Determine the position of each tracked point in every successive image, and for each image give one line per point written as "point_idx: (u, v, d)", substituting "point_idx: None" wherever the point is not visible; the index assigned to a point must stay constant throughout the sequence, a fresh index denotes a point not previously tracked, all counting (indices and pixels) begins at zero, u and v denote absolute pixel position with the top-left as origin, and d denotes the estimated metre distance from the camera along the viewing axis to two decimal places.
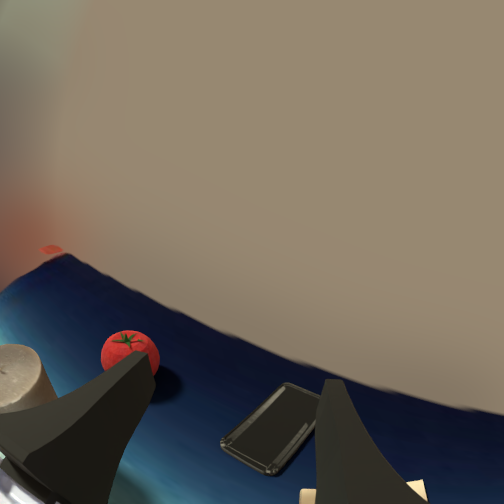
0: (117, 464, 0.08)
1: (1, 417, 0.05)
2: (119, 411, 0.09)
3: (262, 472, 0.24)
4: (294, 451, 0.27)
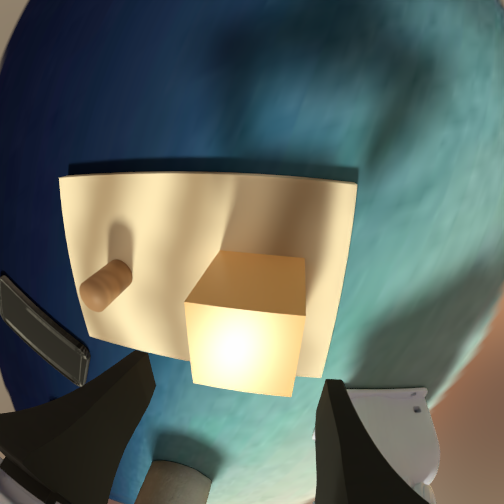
0: (117, 464, 0.08)
1: (1, 417, 0.05)
2: (119, 411, 0.09)
3: (88, 359, 0.25)
4: (56, 328, 0.24)
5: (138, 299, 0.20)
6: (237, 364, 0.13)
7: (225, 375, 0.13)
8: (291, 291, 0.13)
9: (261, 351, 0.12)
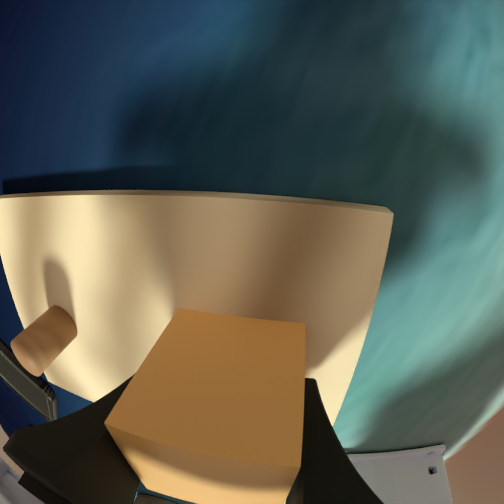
0: None
1: (20, 432, 0.05)
2: None
3: (54, 400, 0.19)
4: (17, 364, 0.18)
5: (88, 354, 0.14)
6: (198, 490, 0.07)
7: (185, 493, 0.07)
8: (279, 407, 0.07)
9: (231, 487, 0.06)
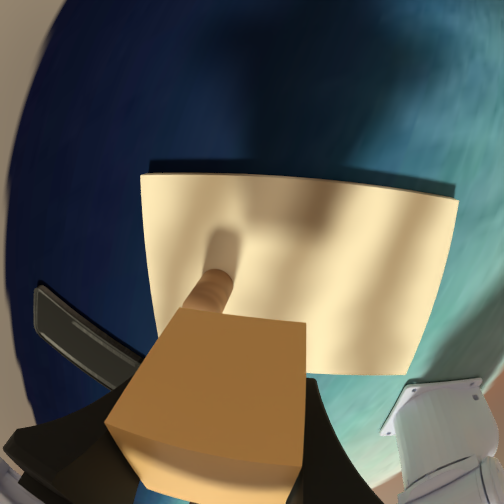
0: None
1: (21, 432, 0.05)
2: None
3: None
4: (112, 343, 0.24)
5: (236, 311, 0.19)
6: (199, 490, 0.07)
7: (185, 493, 0.07)
8: (281, 406, 0.07)
9: (232, 487, 0.06)
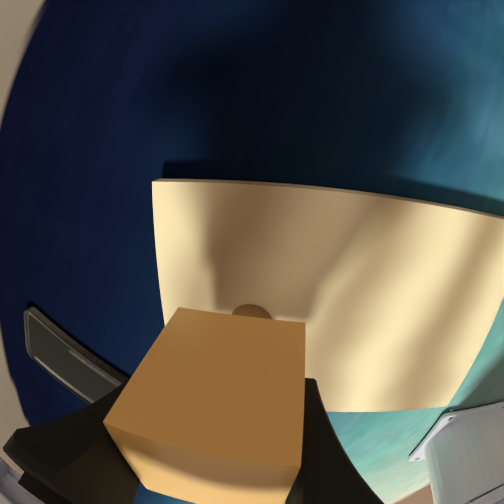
0: None
1: (21, 432, 0.05)
2: None
3: None
4: (116, 376, 0.20)
5: None
6: (198, 489, 0.07)
7: (184, 493, 0.07)
8: (279, 406, 0.07)
9: (231, 486, 0.06)
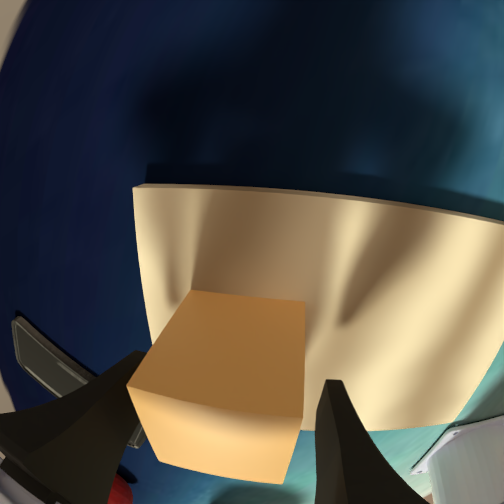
0: (117, 464, 0.08)
1: (1, 417, 0.05)
2: (119, 411, 0.09)
3: None
4: None
5: None
6: (209, 454, 0.08)
7: (196, 461, 0.08)
8: (283, 368, 0.08)
9: (240, 447, 0.08)
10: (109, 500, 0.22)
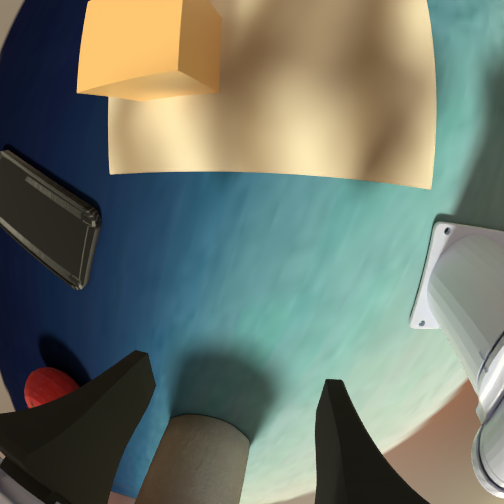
0: (117, 464, 0.08)
1: (1, 417, 0.05)
2: (119, 411, 0.09)
3: (97, 229, 0.19)
4: (60, 189, 0.19)
5: None
6: (120, 41, 0.09)
7: (107, 62, 0.09)
8: None
9: (144, 15, 0.08)
10: None
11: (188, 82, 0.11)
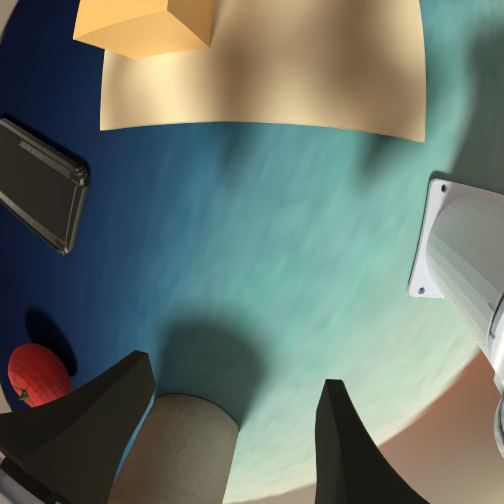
0: (117, 464, 0.08)
1: (1, 417, 0.05)
2: (119, 411, 0.09)
3: (85, 188, 0.18)
4: (52, 151, 0.18)
5: None
6: None
7: (103, 10, 0.08)
8: None
9: None
10: (37, 376, 0.22)
11: (178, 29, 0.10)
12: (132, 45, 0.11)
